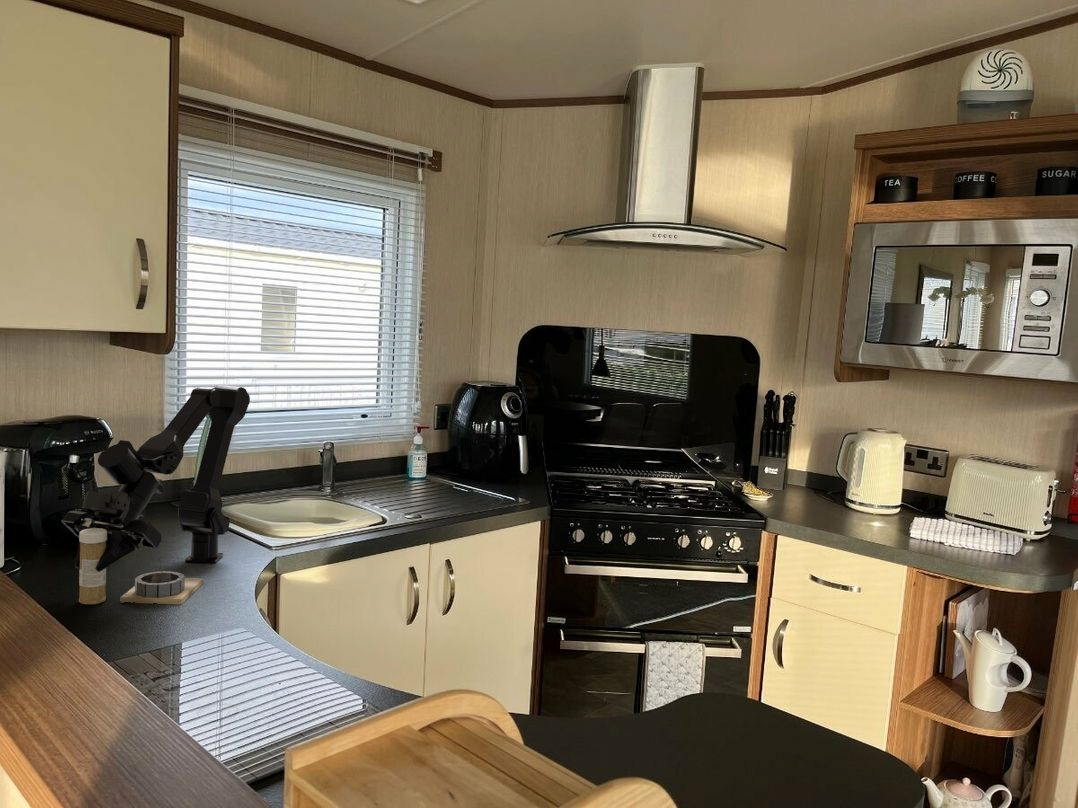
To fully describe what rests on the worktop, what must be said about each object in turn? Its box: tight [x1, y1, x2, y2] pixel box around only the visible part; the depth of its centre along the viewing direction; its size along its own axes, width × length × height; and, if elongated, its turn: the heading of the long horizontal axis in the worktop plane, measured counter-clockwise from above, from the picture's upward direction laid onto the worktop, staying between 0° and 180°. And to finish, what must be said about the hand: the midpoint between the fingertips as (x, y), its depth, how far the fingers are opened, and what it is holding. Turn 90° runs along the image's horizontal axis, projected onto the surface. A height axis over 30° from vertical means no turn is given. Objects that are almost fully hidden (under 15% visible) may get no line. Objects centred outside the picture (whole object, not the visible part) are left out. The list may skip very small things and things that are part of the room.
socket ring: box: [134, 570, 186, 598], centre depth 163 cm, size 8×8×2 cm
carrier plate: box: [119, 577, 204, 605], centre depth 165 cm, size 13×11×2 cm
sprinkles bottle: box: [78, 528, 108, 605], centre depth 157 cm, size 5×5×14 cm
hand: (87, 568), depth 156 cm, fingers closed on sprinkles bottle, 4 cm apart
